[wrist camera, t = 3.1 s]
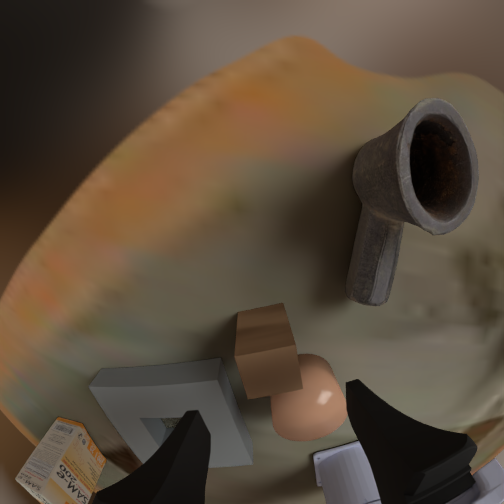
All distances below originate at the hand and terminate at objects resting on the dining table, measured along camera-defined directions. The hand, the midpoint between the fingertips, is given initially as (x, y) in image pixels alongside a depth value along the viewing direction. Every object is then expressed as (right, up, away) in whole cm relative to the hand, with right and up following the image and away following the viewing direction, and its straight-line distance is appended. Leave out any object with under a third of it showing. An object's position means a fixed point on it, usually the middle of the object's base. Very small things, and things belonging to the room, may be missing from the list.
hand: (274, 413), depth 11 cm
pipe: (+8, +11, +7) cm, 15 cm away
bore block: (-8, -8, +11) cm, 16 cm away
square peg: (0, +2, +9) cm, 9 cm away
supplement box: (-23, -17, +13) cm, 32 cm away
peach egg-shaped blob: (+3, -3, +10) cm, 11 cm away
